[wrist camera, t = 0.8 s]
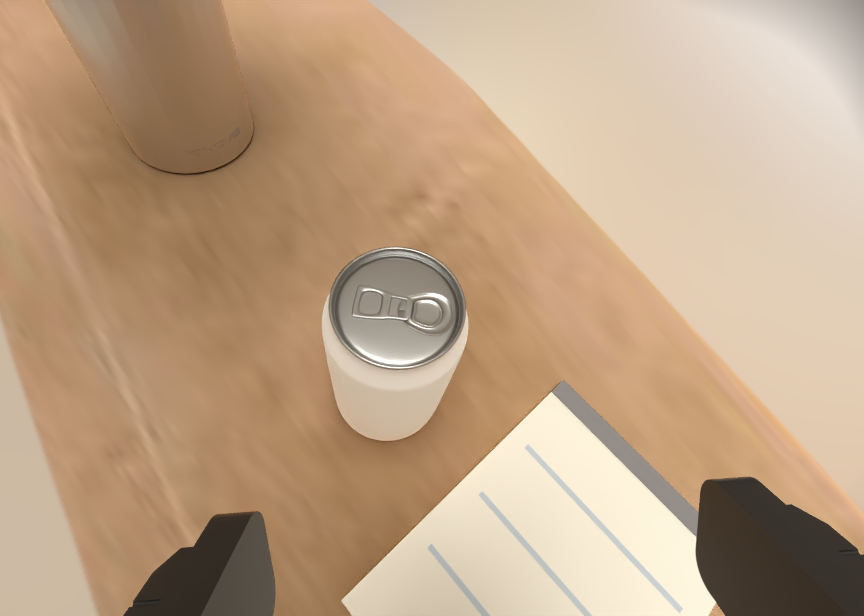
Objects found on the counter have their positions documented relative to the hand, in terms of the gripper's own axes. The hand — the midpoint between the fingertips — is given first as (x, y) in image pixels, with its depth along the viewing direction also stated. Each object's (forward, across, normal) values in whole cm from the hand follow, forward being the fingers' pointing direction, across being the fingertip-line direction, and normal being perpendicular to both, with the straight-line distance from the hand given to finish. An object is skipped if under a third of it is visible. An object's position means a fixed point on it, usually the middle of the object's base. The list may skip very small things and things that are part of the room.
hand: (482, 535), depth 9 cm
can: (+21, +4, +6) cm, 22 cm away
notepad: (+14, -5, +15) cm, 21 cm away
